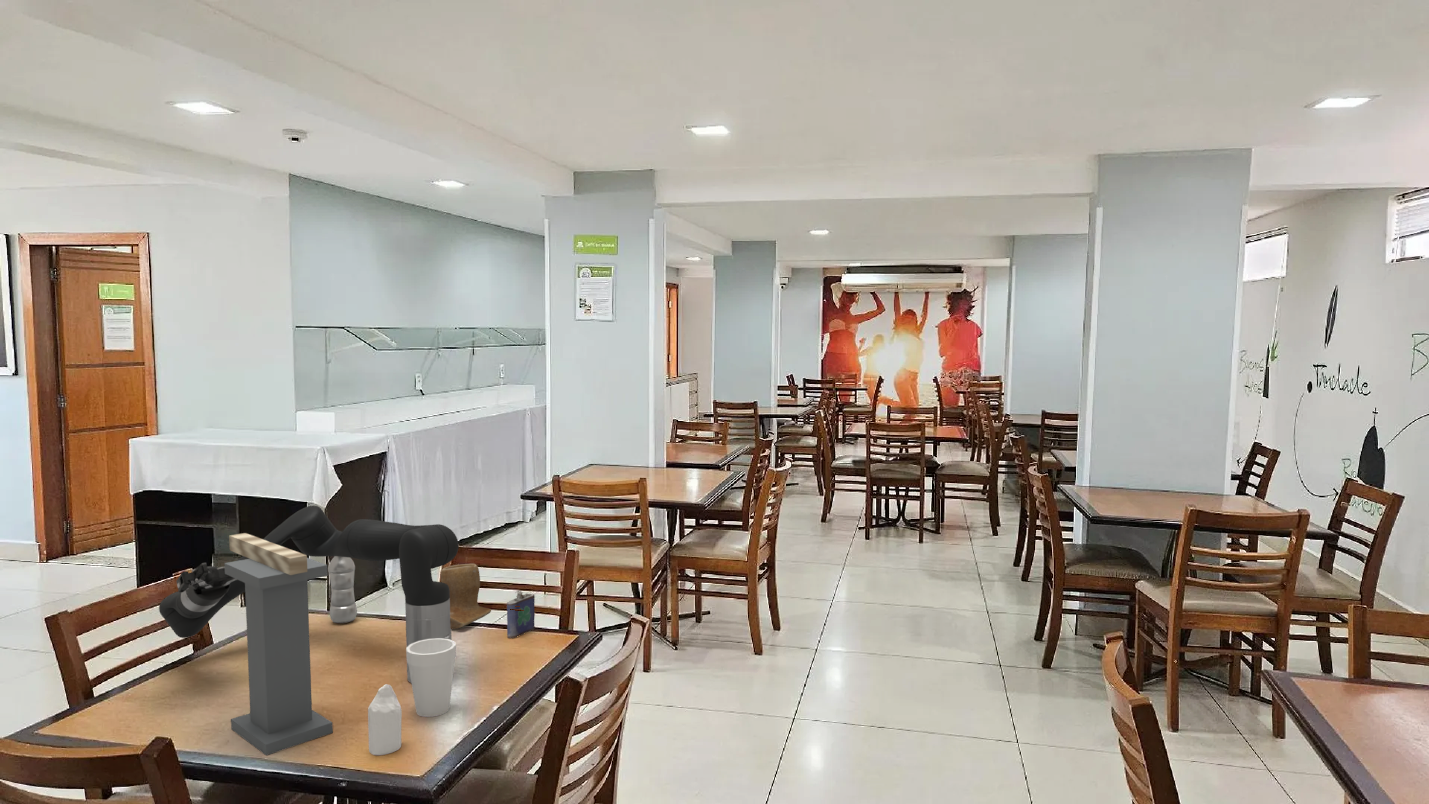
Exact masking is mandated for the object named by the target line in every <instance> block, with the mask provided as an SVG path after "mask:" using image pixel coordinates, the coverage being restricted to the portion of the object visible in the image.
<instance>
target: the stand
mask: <svg viewBox="0 0 1429 804" xmlns="http://www.w3.org/2000/svg"><path fill="white" fill-rule="evenodd" d="M224 566H225V574H227V575H229V576H231V577H233V578H235V579H238V580H240V581H242V582H244V583H245V592H244V593H245V594H244V595H245V617H246V639H247V642H246V645H247V665H248V688H249V690H248V691H249V713H246V714H243V715H240V716H236V717H233V718H231V719H230V726H231V727H230V730H232V731H233V732H234V733H235V734H237V735H238V736H239V737H241V738H243V740H245V741H246V742H248V743H249V744H250V745H251V746H253V747H254V748H255V749H257V750H259V751H260V752H261V753H262V754H263V755H265V756H268V755H271V754H275V753H278V752H280V751H284V750H287V749H289V748H292V747H295V746H298V745H301V744H305V743H307V742H310V741H313V740H315V739H318V738H321V737H324V736H328V735H330V734H333V729H334V728H333V727H334V725H333V722H332V721H331V720H330V719H327V717H325V716H323V715H321V714H320V713H318V712H317V711H315V710H313V707H312V706H313V705H312V704H313V703H312V701H313V700H312V678H311V677H312V676H311V647H310V646H311V642H310V621H309V618H310V617H309V592H308V589H309V588H308V587H309V586H308V580H313V579H318V578H319V579H320V578H323V577H328V576H329V573H328V564H326V563H323V562H320V561H317V560H314V559H311V558H309V557H307V572H304V573H299V574H294V575H289V574H286V573H284V572H281V571H279V570H277V569H274V568H272V567H269V566H267V565H264V564H262V563H259V562H257V561H255V560H252V559H245V560H239V561H237V560H235V561H229V562H224Z"/></svg>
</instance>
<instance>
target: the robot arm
mask: <svg viewBox="0 0 1429 804" xmlns="http://www.w3.org/2000/svg"><path fill="white" fill-rule="evenodd" d="M262 539H263V540H266V541H269V542H271V543H274V544H277V545H280V546H283V543H285V542H287V541H288V540H290V539H291V540H292V541H293V543H294V544H295V546H296V547H297V548H298V549H299V550H300V551H301V552H300V553H302V554H305V555H307V557H334V556H339V557H350V558H351V559H355V560H356V559H357V560H363V561H372V562H373V561H374V562H380V561H382V562H383V561H392V560H399V568H400V581H401V582H400V583H401V588H402V591H403V594H404V599H405V600H404V601H405V603H404V605H405V607H404V608H405V638H406V640H405V641H406V642H405V643H406V648H407V647H408V646H409V645H410V644H412V643H415V642H417V641H421V640H426V639H435V638H443V639H450V640H452V638H453V637H452V629H451V628H450V589H449V586H448V585H447V584H445V583H442V582H441V581H436V580H433V576H432V575H433V574H432V570H433V569H436V568H439V567H444V566H445V565H447V564H449V563H450V562H452V561H453V560H454V559H455V557H456V556H457V554H458V551H459V547H460V546H459V545H460V544H459V540H458V537H457V535H456V534H455V533H454V531H453V530H452V529H451V528H450V527H448V526H446V525H444V524H439V523H438V524H426V525H413V524H404V523H400V522H399V523H398V522H391V521H383V520H377V519H367V518H364V519H363V518H362V519H356V520H354V521H352V522H351V523H349V524H348V525H347V526H346V527H345V528H344V529H343V530H339V529H337V528H336V526H334V524H333V523H332V522H331V520H330V519H329V518H328V516H327V514H326V513H325V512H324V510H323V509H322V508H321V507H320V506H318V505H309V506H305V507H303V508H301V509H299V510H298V511H296V512H295V513H293V514H292V515H290V516H289V517H288V518H287V519H285V520H284V521H283V522H282V523H280V524H279V525H278V526H277V527H275V528H274V529H273V530H272V531H270V533H268V534H267V535H266V536H265V537H264V538H262ZM245 559H250V558H247V557H245V556H242V555H241V556H240V557H239V558H238V559H237V560H236V561H239V560H245ZM176 585H177V589H178V591H175V592H173V593H170V594H169V595H167V596H166V597H165V598H163V599H162V600H161V602H160V604H159V606H158V607H159V608H158V610H159V614H160V615H161V616H162V618H163V620H165V622H166V623H167V625H168V626H169V627H170V628H171V630H172V631H173V632H174V633H175V635H176V636H177V637H179V638H181V639H186V638H191V637H194V636H195V635H197V634H198V633H199V632H200V631H201V630H203V628H205V626H206V625H207V624H208V623H209V621H211V619H212V618H214V616H215V615H216V614H217V613H218V612H219V611H220V610H222V608H224V606H226V605H227V604H228V603H229V604H230V603H231V602H232V600H234V599H236V598H238V597H239V596H240V595H242V594H244V593H245V583H244V582H242V581H240V580H238V579H235V578H233V577H231V576H229V575H227V574H225V565H224V566H219V567H218V566H214V565H209V566H208V565H207V562H202V563H201V564H199V565H198V566H196V568H194V569H193V568H192V570H191V572H189V571H182V572H181V573H180V574H179V576H178V578H177V579H176ZM452 641H453V640H452ZM406 673H407V674H406V676H407V681H408V682H409V683H411V677H410V671H409V665H408V663H407V662H406ZM411 684H412V683H411Z"/></svg>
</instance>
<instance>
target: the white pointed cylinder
mask: <svg viewBox="0 0 1429 804" xmlns="http://www.w3.org/2000/svg"><path fill="white" fill-rule="evenodd" d="M398 699H399V698H398V697H397V694H396V693H395V691H394V689H393V686H391V684H387V683H386V684H384V685H383V686H381V687H379V688H378V690H377V692H376V695H375V696H374V698H373V699H372V701H371V702H370V704H369V705H368V708H367V723H368V724H367V728H368V751H369V754H371V755H373V756H385V755H389V754H392V753H394V752H396V751H399V749H401V747H402V719H403V718H402V706H401V703H400V702H399V700H398Z"/></svg>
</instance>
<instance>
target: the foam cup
mask: <svg viewBox="0 0 1429 804" xmlns="http://www.w3.org/2000/svg"><path fill="white" fill-rule="evenodd" d="M405 652H406V653H405V654H406V657H405V658H406V659H405V660H406V664H407V663H408V665H409V671H410V677H411V689H412V695H413V700H414V707H415V711H416V714H417V715H418V716H419V717H426V718H431V717H437V716H441V715H443V714H445V713H447V712H448V711H449V710H450V706H451V697H452V690H453V689H452V688H453V680H454V671H455V663H456V657H457V642H456V641H454V640H450V639H443V638H435V639H426V640H421V641H417V642H415V643H412V644H410V645H409V646H408V647H406V648H405Z"/></svg>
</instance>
